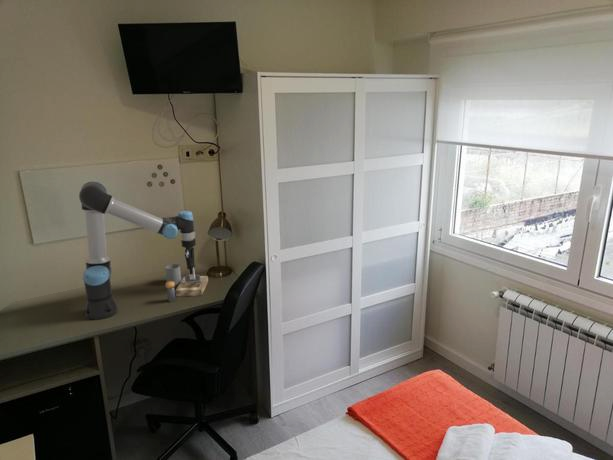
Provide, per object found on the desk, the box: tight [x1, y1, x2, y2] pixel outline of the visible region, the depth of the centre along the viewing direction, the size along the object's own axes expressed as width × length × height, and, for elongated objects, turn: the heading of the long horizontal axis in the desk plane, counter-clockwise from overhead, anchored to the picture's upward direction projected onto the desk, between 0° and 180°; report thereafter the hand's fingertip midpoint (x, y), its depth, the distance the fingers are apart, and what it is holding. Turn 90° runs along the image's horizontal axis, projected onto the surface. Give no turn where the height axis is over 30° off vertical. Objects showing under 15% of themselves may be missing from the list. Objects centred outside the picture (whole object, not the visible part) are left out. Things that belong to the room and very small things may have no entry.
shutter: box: [181, 274, 205, 284], centre depth 259 cm, size 12×7×3 cm, turn 92°
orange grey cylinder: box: [164, 281, 177, 303], centre depth 242 cm, size 5×5×10 cm
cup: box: [164, 263, 182, 286], centre depth 267 cm, size 8×8×10 cm
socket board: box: [175, 275, 209, 297], centre depth 258 cm, size 14×20×4 cm
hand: (192, 278), depth 258 cm, fingers closed
